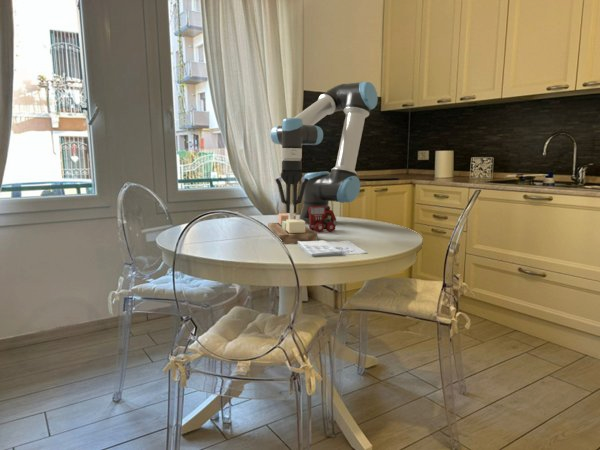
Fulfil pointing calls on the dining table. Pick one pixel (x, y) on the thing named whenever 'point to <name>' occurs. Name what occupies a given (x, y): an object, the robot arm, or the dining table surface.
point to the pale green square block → (284, 225)
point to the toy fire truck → (321, 219)
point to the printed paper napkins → (330, 248)
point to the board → (292, 234)
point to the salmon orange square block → (283, 217)
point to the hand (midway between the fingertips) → (291, 221)
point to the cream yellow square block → (295, 226)
